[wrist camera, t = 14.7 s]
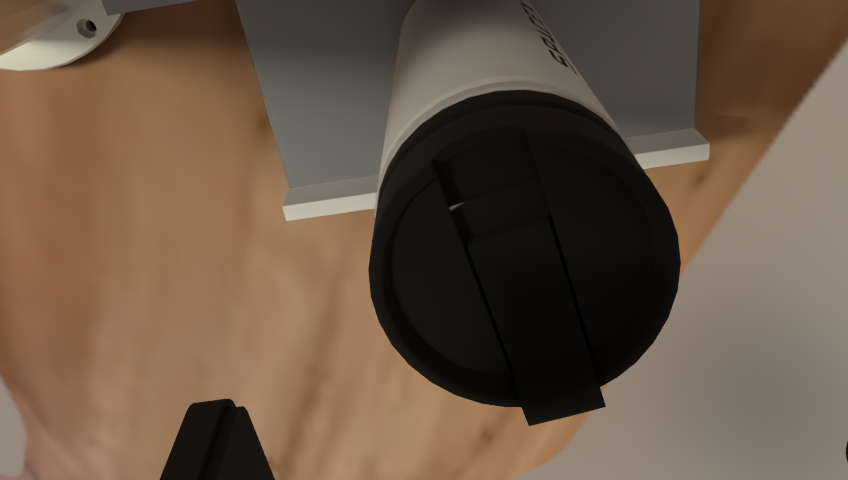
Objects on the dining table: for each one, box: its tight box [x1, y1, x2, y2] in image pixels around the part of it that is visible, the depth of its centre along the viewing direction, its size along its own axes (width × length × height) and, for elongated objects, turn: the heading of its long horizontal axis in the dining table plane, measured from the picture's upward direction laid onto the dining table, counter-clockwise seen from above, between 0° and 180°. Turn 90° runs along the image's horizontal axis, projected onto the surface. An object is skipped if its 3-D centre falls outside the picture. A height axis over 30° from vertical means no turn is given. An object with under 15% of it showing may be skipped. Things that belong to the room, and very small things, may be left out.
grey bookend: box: [101, 0, 710, 221], centre depth 26 cm, size 20×13×14 cm, turn 99°
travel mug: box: [369, 0, 681, 426], centre depth 22 cm, size 6×7×20 cm
